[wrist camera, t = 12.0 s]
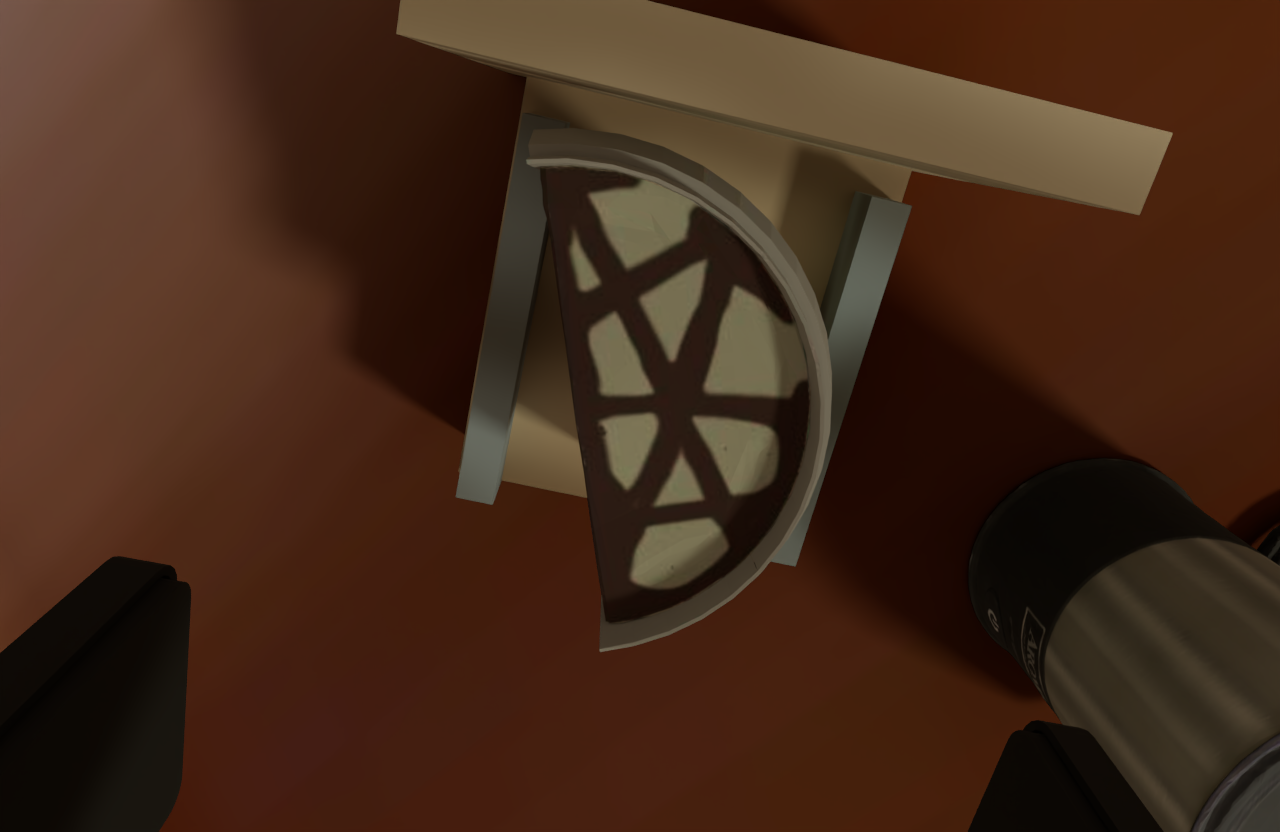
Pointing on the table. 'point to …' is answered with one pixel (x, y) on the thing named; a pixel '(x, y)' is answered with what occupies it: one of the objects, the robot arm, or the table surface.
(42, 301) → the table surface
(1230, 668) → the milk frother
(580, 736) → the table surface
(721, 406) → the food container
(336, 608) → the table surface
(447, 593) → the table surface
